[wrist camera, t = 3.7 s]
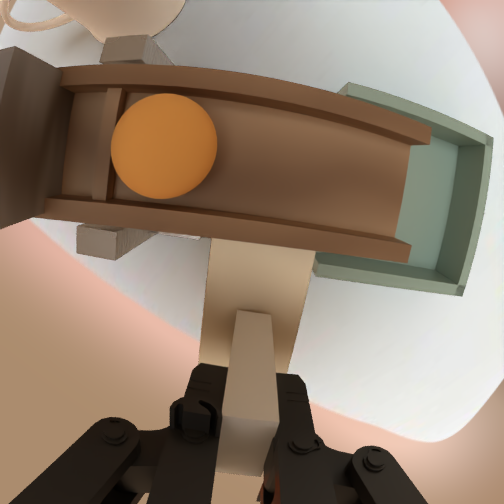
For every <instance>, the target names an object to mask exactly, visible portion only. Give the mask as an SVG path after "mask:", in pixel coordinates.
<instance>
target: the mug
mask: <svg viewBox="0 0 504 504" xmlns="http://www.w3.org/2000/svg"><path fill="white" fill-rule="evenodd" d="M47 1H49V2H50V3H52V4H53V5H54V6H56V7H57V8H59V9H60V10H62V11H63V12H65V13H64V14H62V15H60V16H58V17H56V18H53V19H51V20H47V21H43V22H38V23H23V22H19V21H17V20H15V19H13V18H12V17H11V16H10V14H9V11H8V6H9V2H10V0H0V13H1V17H2V18H3V20H4V22H5V23H6V24H7V25H8V26H10V27H11V28H13V29H16V30H19V31H26V32H35V31H43V30H48V29H52V28H55V27H58V26H61V25H64V24H66V23H68V22H71V21H73V20H76V21H77V22H79V23H80V24H82V25H83V26H84V27H86V28H87V29H88V30H89V31H90V32H91V34H92V35H93V36H94V37H95V38H96V39H97V40H98V41H100V42H101V43H103V44H105V40H106V38H108V37H118V36H130V35H145V34H148V35H149V36H150V37H152V36H154V35H156V34H157V33H159V32H160V31H162V30H163V29H164V28H166V27H167V26H168V25H169V24H170V23H171V22H172V21H173V20H174V19H175V18H176V17H177V15H178V14H179V13H180V11H181V9H182V8H183V6H184V3H185V1H186V0H47Z"/></svg>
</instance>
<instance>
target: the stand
mask: <svg viewBox="0 0 504 504" xmlns="http://www.w3.org/2000/svg"><path fill="white" fill-rule="evenodd" d="M100 63H102V64H153V65H173V66H175V65H174V64H173V63H172V62H171V61H170V59H169V58H168V57H167V56H166V55H165V54H164V52H163V51H162V50H161V49H160V48H159V47H158V45H157V44H156V43H155V42H154V41H153V40H152V38H151V37H150V36H149V35H148V34H145V35H130V36H118V37H108V38H106V40H105V44H104V47H103V51H102V54H101V58H100ZM156 234H163V235H170V236H176V237H183V238H189V239H196V240H200V238H201V237H200V236H191V235H183V234H175V233H166V232H158V231H150V230H141V229H133V228H124V227H115V226H107V225H98V224H89V223H84V224H81V225H78V226H77V253H78V254H83V255H88V256H94V257H99V258H104V259H109V260H114V261H116V260H117V259H119V258H120V257H122V256H123V255H125V254H126V253H128V252H129V251H131V250H132V249H134V248H135V247H137V246H138V245H140V244H142V243H143V242H145V241H146V240H148V239H149V238H151V237H153V236H154V235H156Z"/></svg>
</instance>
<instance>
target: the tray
mask: <svg viewBox="0 0 504 504" xmlns="http://www.w3.org/2000/svg"><path fill="white" fill-rule="evenodd" d="M337 94H340V95H343V96H347V97H350V98H353V99H357V100H360V101H363V102H366V103H369V104H372V105H375V106H378V107H381V108H384V109H386V110H389V111H392V112H395V113H397V114H400V115H403V116H405V117H408V118H410V119H413V120H415V121H418V122H420V123H423V124H425V125H427V126H430V127H432V131H431V140H430V145H413V146H411V148H410V156H409V163H408V169H407V176H406V182H405V188H404V193H403V199H402V204H401V209H400V214H399V219H398V224H397V229H396V233H395V238H397V239H399V240H401V241H404V242H406V243H408V244H410V245H412V247H411V251H410V255H409V259H408V263H401V262H394V261H387V260H379V259H372V258H364V257H357V256H349V255H342V254H334V253H327V252H319V251H316V253H315V258H314V262H313V267H312V270H313V272H314V274H315V276H317V277H324V278H331V279H337V280H344V281H351V282H358V283H366V284H373V285H380V286H387V287H394V288H402V289H409V290H416V291H424V292H432V293H439V294H447V295H455V296H463V293H464V289H465V286H466V283H467V280H468V276H469V273H470V270H471V266H472V262H473V259H474V255H475V251H476V247H477V243H478V239H479V234H480V230H481V225H482V220H483V215H484V210H485V204H486V199H487V192H488V186H489V179H490V171H491V162H492V151H493V137H491V136H489V135H487V134H485V133H483V132H481V131H479V130H477V129H475V128H473V127H471V126H469V125H467V124H465V123H462V122H460V121H458V120H456V119H453V118H451V117H449V116H447V115H444V114H442V113H439V112H437V111H435V110H432V109H430V108H427V107H424V106H422V105H419V104H417V103H414V102H411V101H408V100H406V99H403V98H400V97H397V96H394V95H391V94H388V93H385V92H382V91H378V90H375V89H372V88H368V87H365V86H361V85H358V84H354V83H350V82H348V83H347V84H346V85H345V86H344V87H343V88H342V89H341V90H340V91H339V92H338V93H337Z"/></svg>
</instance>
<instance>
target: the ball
mask: <svg viewBox="0 0 504 504" xmlns="http://www.w3.org/2000/svg"><path fill="white" fill-rule="evenodd" d="M216 153H217V135H216V130H215V127H214V124H213V122H212V120H211V118H210V117H209V115H208V114H207V112H206V111H205V110H204V109H203V108H202V107H201V106H200V105H199V104H197V103H196V102H194V101H193V100H191V99H189V98H187V97H184V96H181V95H177V94H168V93H164V94H156V95H152V96H149V97H146V98H144V99H142V100H140V101H138V102H136V103H135V104H133V105H132V106H131V107H130V108H129V109H128V110H127V111H126V112H125V113H124V114H123V115H122V116H121V118H120V119H119V121H118V123H117V125H116V127H115V129H114V132H113V135H112V140H111V157H112V162H113V165H114V168H115V170H116V172H117V174H118V176H119V177H120V179H121V180H122V181H123V182H124V183H125V184H126V185H127V186H128V187H129V188H130V189H131V190H133V191H135V192H136V193H138V194H140V195H142V196H145V197H149V198H154V199H168V198H174V197H178V196H180V195H183V194H185V193H187V192H189V191H191V190H192V189H194V188H195V187H196V186H197V185H199V184H200V183H201V182H202V181H203V180H204V178H205V177H206V176H207V174H208V173H209V171H210V170H211V168H212V166H213V163H214V160H215V157H216Z"/></svg>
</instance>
